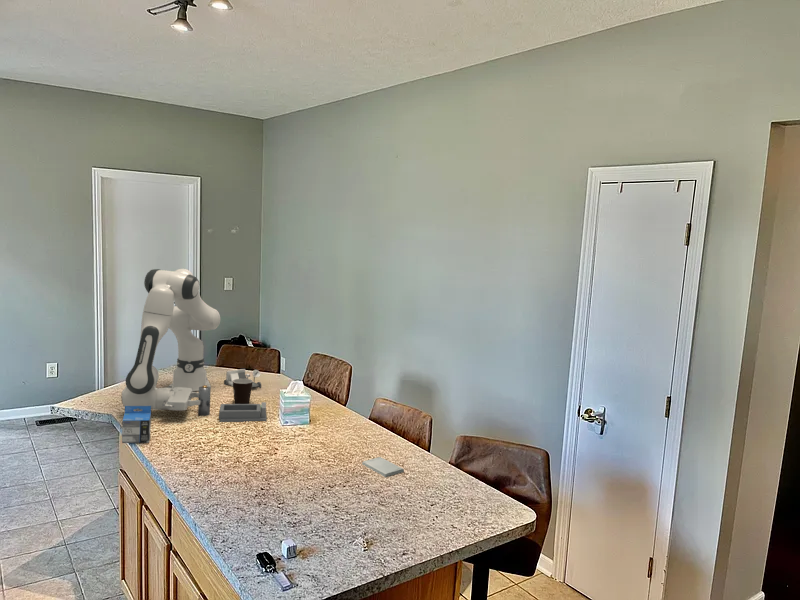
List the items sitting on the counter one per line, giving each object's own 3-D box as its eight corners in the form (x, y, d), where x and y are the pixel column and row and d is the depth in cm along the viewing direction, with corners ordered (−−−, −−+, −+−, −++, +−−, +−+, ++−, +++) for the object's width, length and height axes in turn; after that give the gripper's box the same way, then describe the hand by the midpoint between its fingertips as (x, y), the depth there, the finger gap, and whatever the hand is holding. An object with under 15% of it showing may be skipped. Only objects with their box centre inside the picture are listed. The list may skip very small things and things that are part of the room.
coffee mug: (248, 406, 250) (249, 384, 249) (229, 405, 250) (229, 382, 249) (255, 399, 262) (256, 377, 261) (237, 397, 262) (238, 376, 261)
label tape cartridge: (121, 443, 199) (121, 409, 198) (123, 439, 203) (124, 405, 202) (148, 443, 202) (149, 408, 200) (150, 439, 205) (151, 405, 204)
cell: (198, 412, 238) (199, 384, 236) (210, 412, 239) (211, 384, 238) (197, 416, 233) (198, 387, 232) (209, 415, 234) (210, 387, 233)
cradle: (220, 412, 240) (221, 400, 239) (266, 412, 244) (266, 400, 244) (218, 421, 228) (219, 409, 227) (266, 421, 232) (266, 409, 232)
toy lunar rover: (265, 370, 278) (244, 373, 270) (264, 389, 280) (243, 393, 271) (244, 362, 290) (224, 365, 282) (243, 381, 292) (223, 385, 283)
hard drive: (404, 468, 192) (380, 456, 201) (385, 474, 187) (362, 461, 196) (403, 473, 192) (380, 460, 202) (385, 478, 187) (361, 465, 196)
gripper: (161, 398, 221) (199, 398, 225) (169, 384, 241) (204, 384, 245) (161, 414, 222) (198, 414, 225) (169, 399, 242) (203, 399, 245)
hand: (201, 398), depth 235 cm, fingers open, 8 cm apart
